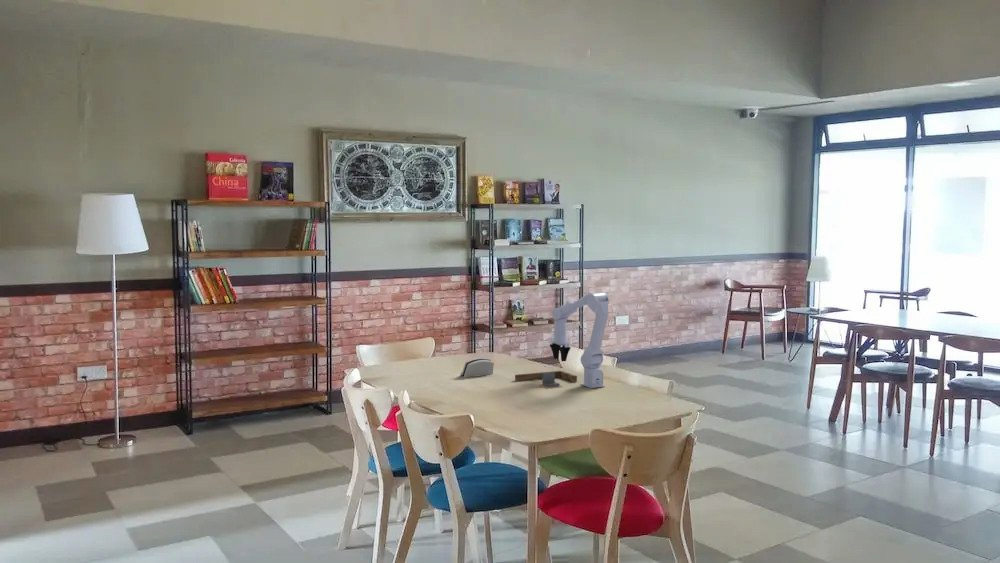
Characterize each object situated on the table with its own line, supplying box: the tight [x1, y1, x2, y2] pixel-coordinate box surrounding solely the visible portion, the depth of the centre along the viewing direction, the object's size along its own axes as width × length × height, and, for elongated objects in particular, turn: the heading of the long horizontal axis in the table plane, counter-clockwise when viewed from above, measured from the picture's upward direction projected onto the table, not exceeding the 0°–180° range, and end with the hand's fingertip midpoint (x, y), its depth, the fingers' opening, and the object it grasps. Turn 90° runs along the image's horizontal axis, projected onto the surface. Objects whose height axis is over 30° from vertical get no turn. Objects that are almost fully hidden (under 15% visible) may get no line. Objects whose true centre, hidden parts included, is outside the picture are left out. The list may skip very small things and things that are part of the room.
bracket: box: [541, 370, 561, 388], centre depth 385 cm, size 6×6×6 cm
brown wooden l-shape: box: [514, 370, 578, 383], centre depth 396 cm, size 15×26×3 cm, turn 115°
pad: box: [539, 383, 563, 389], centre depth 386 cm, size 8×8×1 cm
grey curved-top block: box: [460, 357, 495, 378], centre depth 411 cm, size 17×5×10 cm, turn 123°
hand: (559, 359), depth 402 cm, fingers open, 7 cm apart
